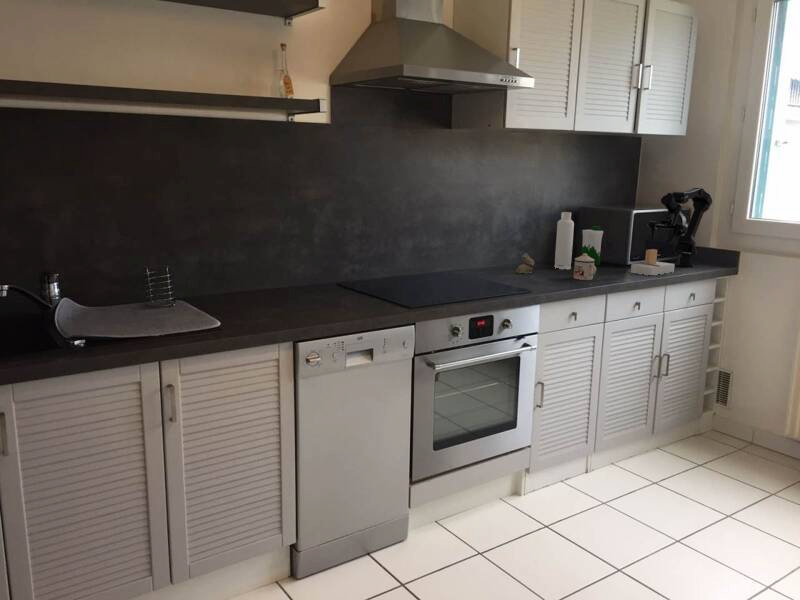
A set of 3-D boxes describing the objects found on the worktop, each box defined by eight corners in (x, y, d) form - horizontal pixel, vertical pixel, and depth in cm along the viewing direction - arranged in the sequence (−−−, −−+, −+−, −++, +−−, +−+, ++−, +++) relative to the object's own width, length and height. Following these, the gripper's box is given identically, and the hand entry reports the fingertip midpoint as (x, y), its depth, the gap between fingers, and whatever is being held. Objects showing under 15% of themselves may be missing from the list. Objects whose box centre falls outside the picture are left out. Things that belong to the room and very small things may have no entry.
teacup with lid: (568, 277, 302) (570, 252, 300) (583, 276, 306) (585, 251, 304) (586, 282, 292) (588, 256, 289) (602, 280, 296) (604, 255, 293)
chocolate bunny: (530, 275, 307) (531, 254, 305) (514, 273, 312) (515, 252, 309) (534, 273, 312) (535, 252, 310) (519, 271, 316) (520, 251, 314)
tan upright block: (650, 271, 324) (653, 249, 322) (655, 271, 322) (657, 249, 320) (643, 272, 320) (646, 250, 318) (648, 272, 319) (650, 250, 316)
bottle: (573, 269, 325) (577, 213, 319) (558, 269, 324) (562, 213, 318) (566, 266, 333) (570, 211, 327) (551, 267, 331) (555, 211, 325)
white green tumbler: (602, 265, 338) (605, 227, 334) (587, 266, 335) (590, 227, 331) (592, 263, 346) (595, 225, 342) (577, 263, 344) (580, 225, 339)
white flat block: (653, 268, 330) (654, 260, 329) (673, 272, 322) (674, 263, 321) (630, 272, 318) (631, 263, 317) (650, 276, 310) (651, 266, 309)
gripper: (648, 205, 325) (637, 232, 323) (684, 208, 311) (672, 236, 309) (657, 216, 332) (646, 243, 330) (692, 219, 318) (681, 247, 316)
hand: (660, 242), depth 321 cm, fingers open, 9 cm apart
